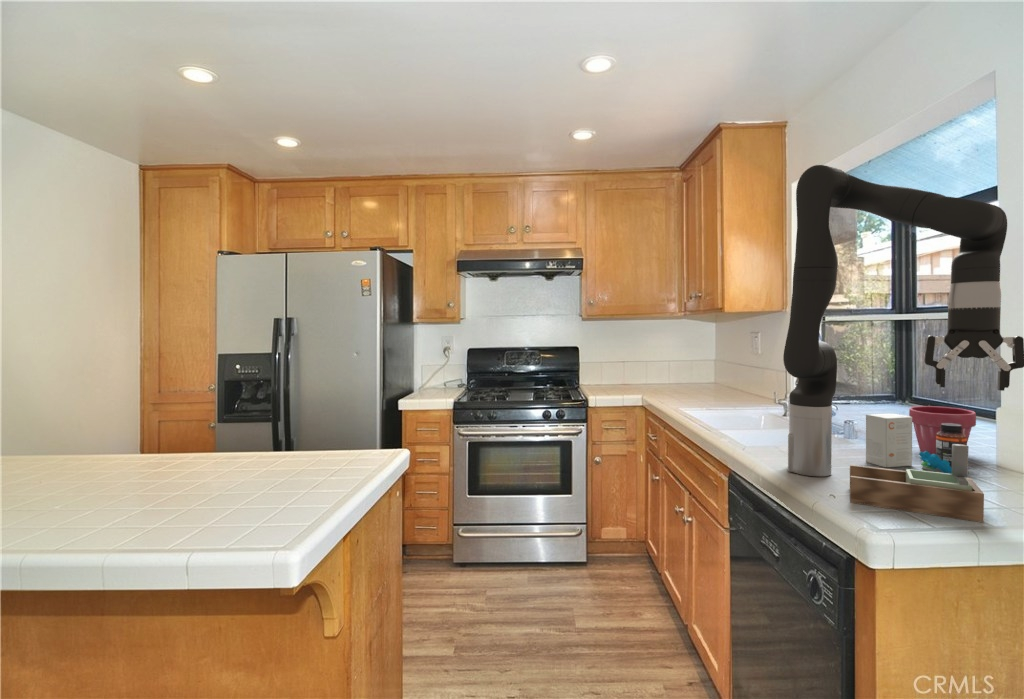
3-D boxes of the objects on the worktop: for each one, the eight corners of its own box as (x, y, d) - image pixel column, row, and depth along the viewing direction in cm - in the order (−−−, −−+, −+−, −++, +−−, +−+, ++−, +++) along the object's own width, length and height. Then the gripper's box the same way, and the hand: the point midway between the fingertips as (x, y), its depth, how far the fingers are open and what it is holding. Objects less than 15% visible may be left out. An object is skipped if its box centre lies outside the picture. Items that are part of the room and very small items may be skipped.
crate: (909, 503, 98) (910, 444, 98) (905, 491, 105) (906, 437, 105) (971, 512, 93) (972, 450, 93) (963, 499, 100) (964, 442, 100)
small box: (890, 459, 135) (891, 412, 134) (912, 466, 128) (913, 416, 128) (864, 461, 133) (865, 414, 133) (885, 468, 127) (886, 418, 127)
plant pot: (934, 461, 133) (935, 414, 132) (896, 448, 147) (897, 406, 146) (990, 461, 132) (991, 413, 132) (946, 448, 146) (947, 405, 146)
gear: (981, 484, 108) (941, 451, 110) (960, 503, 108) (921, 469, 110) (947, 477, 118) (912, 446, 121) (929, 493, 119) (893, 463, 121)
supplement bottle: (963, 466, 127) (964, 423, 127) (969, 472, 122) (970, 427, 122) (933, 463, 130) (934, 421, 130) (938, 469, 125) (938, 425, 125)
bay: (850, 502, 103) (850, 476, 103) (849, 488, 112) (850, 464, 112) (983, 522, 91) (984, 493, 91) (970, 504, 100) (971, 478, 100)
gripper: (927, 307, 98) (925, 388, 98) (1030, 304, 89) (1026, 393, 90) (925, 307, 104) (922, 384, 104) (1021, 305, 95) (1017, 389, 96)
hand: (970, 388), depth 97 cm, fingers open, 8 cm apart
